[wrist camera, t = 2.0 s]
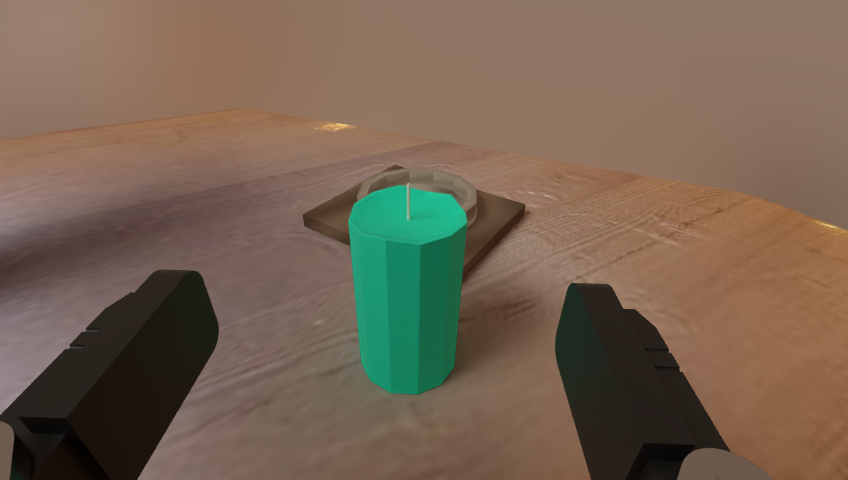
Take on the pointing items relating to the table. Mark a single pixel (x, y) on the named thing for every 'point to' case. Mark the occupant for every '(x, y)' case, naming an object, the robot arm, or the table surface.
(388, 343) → the candle
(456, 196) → the holder
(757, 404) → the table surface
